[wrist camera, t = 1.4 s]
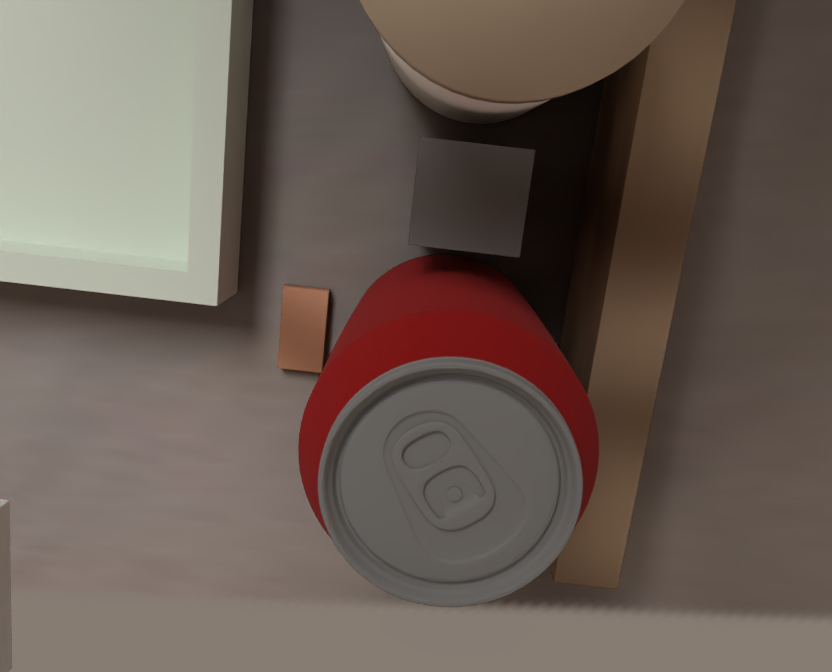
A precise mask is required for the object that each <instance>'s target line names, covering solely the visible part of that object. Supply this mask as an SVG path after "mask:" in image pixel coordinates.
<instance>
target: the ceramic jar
mask: <svg viewBox="0 0 832 672" xmlns="http://www.w3.org/2000/svg"><path fill="white" fill-rule="evenodd" d="M684 1H685V0H360V2H361V4H362V6H363V8H364V10H365V12H366V14H367V16H368V18H369V19H370V21H371V22H372V24H373V25H374V27H375V28H376V30H377V31H378V33H379V35H380V37H381V39H382V42H383V44H384V47H385V49H386V51H387V54H388V56H389V58H390V61H391V63H392V65H393V67H394V69H395V71H396V73H397V75H398V76H399V78H400V79H401V81H402V82H403V84H404V85H405V86H406V87H407V89H408V90H409V91H410V92H411V93H412V94H413V95H414V96H415V97H416V98H417V99H418V100H419V101H420V102H422V103H423V104H424V105H426V106H427V107H429V108H430V109H432V110H433V111H435V112H437V113H439V114H441V115H443V116H445V117H448V118H451V119H454V120H457V121H462V122H467V123H479V124H485V123H496V122H500V121H505V120H509V119H512V118H514V117H517V116H520V115H522V114H524V113H526V112H528V111H530V110H531V109H533V108H535V107H537V106H539V105H541V104H543V103H545V102H547V101H549V100H551V99H554V98H558V97H562V96H564V95H567V94H570V93H572V92H575V91H578V90H580V89H583V88H585V87H587V86H589V85H591V84H593V83H595V82H597V81H599V80H601V79H602V78H604V77H606V76H608V75H610V74H612V73H614V72H615V71H617V70H618V69H620V68H621V67H622V66H624V65H625V64H627V63H628V62H629V61H631V60H632V59H634V58H635V57H636V56H637V55H638V54H639V53H641V52H642V51H643V50H644V49H645V48H646V47H647V46H648V45H649V44H651V43H652V42H653V41H654V40H655V39H656V37H657V36H658V35H659V34H660V33H661V32H662V30H663V29H664V28H665V27H666V26H667V25H668V24H669V22H670V21H671V20H672V18H673V17H674V15H675V14H676V12H677V11H678V10H679V8H680V7H681V5H682V4H683V2H684Z"/></svg>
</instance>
